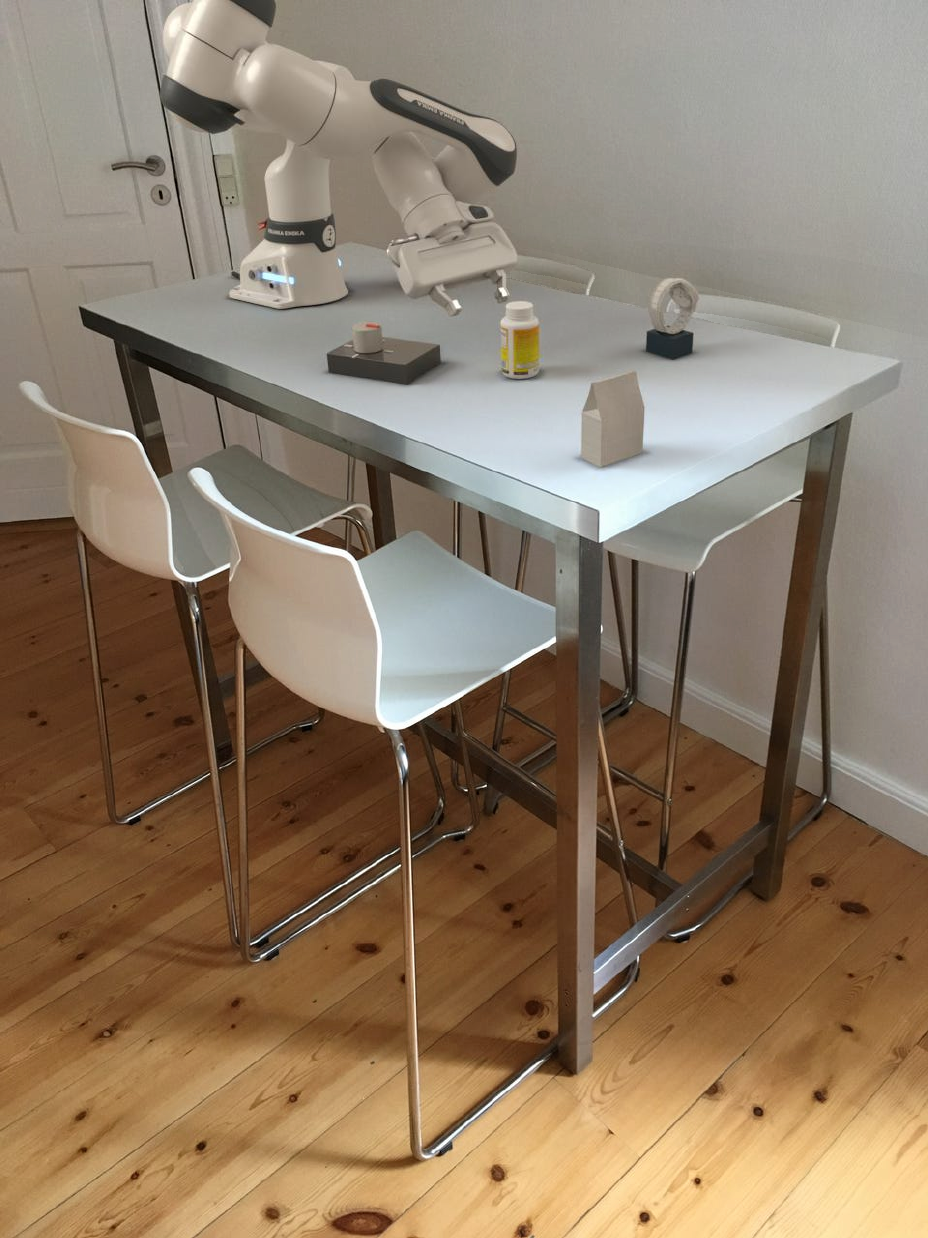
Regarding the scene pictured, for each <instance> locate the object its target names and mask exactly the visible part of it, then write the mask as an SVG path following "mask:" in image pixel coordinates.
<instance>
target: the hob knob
mask: <svg viewBox="0 0 928 1238" xmlns="http://www.w3.org/2000/svg"><path fill="white" fill-rule="evenodd" d="M351 331H352V332H351V333H352V340H353V344H354V351H356V352H358V353H375V352H378V351H381V350H382V349H383V339H382V337H383V332H382V331H383V328H382V324H381V323H380V322H376V321H361V322H357V323H355V324H353V325H352V326H351Z"/></svg>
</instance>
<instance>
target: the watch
mask: <svg viewBox="0 0 928 1238" xmlns="http://www.w3.org/2000/svg"><path fill="white" fill-rule="evenodd" d="M667 293H668V294H669V296H670V298H671V299H672V300H673V302H674V303H675V305H676V308H677V309H678V310H679V312H678V315H677V317H676V319H675V321H674V322H673V323H672V324H671V325H668V324H667V323H666V319H665V315H664V312H663V311H662V302H663V300H664V297H665V295H666V294H667ZM699 299H700V295H699V293H698V291H697V289H696V288H695V286H694V285H693V284H692V283H691V282H689V281H688V280H686V279H684V278H681V277H676V278H673V277H667V278H664V279H662V280H660V281H659V282H658V283H657V284H656V285H655V288H654V289H653V291H652V294H651V295H650V300H649V305H648V307H649V308H648V314H649V319H650V322H651V324H652V326H653V329H650V330H647V331H646V338H645V341H646V342H645V352H647V353H650V354H653V355H656V356H660V357H663V358H666V359H670V360H676V359H678V358H681V357H685V356H688V355H690V354H693V348H694V347H693V346H694V332H693V331H688V330H685V328H686V327H687V326H688V325H689V322H690V321H691V320H692V316H693V314H694V313H695V312H696V308H697V303H698V302H699Z"/></svg>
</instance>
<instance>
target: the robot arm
mask: <svg viewBox="0 0 928 1238" xmlns="http://www.w3.org/2000/svg"><path fill="white" fill-rule="evenodd" d="M276 10H277V3H276V0H192V2H186V3H182V4H180V5H178V6H176V8H174V9H173V10H172V11H171V12H170V13H169V14H168V16H167V18H166V19H165V22H164V25H163V30H162V43H163V47H164V50H165V52H166V53H165V54H166V55H167V57H168V59H169V63H168V66H167V70H166V74H163V75H162V79H161V85H160V90H159V99H160V101H161V104H162V106H163V107H164V108H165V109H167V111H168V112H169V114H170V115H171V116H172V118H174V119H175V121H177V122H178V124H180V125H182V126H183V127H185V128H186V129H189V130H190V131H194V132H198V133H204V134H207V133H209V134H211V135H216V134H220V133H225V132H227V131H229V130H230V129H231V128H232V127H234V128H237V129H241V130H245V131H249V132H253V133H274V134H275V133H277V134H279V135H280V136H282V137H283V138H285V139H286V146H285V150H284V153H283V154H281V155H279V156H278V157H277V158H275V159H274V160H273V161H271V163H270V164H269V165H268V167H267V168H266V170H265V173H264V177H263V179H264V186H265V187H264V188H265V194H266V201H267V202H266V203H267V208H268V217H267V218H266V219H265V220H264V221H261V222H258V223H257V225H258V226H259V227H258V229H257V230H259V231H261V230H263V229H264V233H263V240H262V241H261V242H260V243H258V245H256V247H255V248H254V249H253V250H251V252H250V253H248V255H246V256H245V257H244V258H243V260H242V261H241V263H240V267H239V268H240V269H239V273H238V272H237V271H231V272H230V273H231V274H230V275H231V276H232V277H235V278H236V279H238V280H239V282H240V283H239V284H238V285H236V286H233V288H231V289H230V290H229V293H228V295H229V299H234V300H238V301H243V302H247V303H250V304H251V303H252V304H255V305H261V306H265V307H269V308H273V309H277V310H284V309H290V308H295V307H305V306H306V307H307V306H315V305H322V304H328V303H331V302H334V301H338V300H340V299H342V298H344V297H346V296H347V295H348V294H349V290H348V288H347V285H346V282H345V279H344V276H343V272H342V269H341V266H342V261H341V260H340V259H339V256H338V251H337V246H336V243H337V231H336V221H335V214H334V213H333V212H332V207H331V195H330V162H331V161H340V160H341V161H342V160H346V159H349V158H352V157H354V156H357V155H359V154H360V153H362V152H364V151H365V150H367V149H369V148H370V147H372V146H373V145H375V144H377V143H380V142H381V141H382V142H381V143H380V144H379V145H378V147H377V148H376V149H375V150H374V152H373V154H372V165H373V169H374V173H375V175H376V177H377V180H378V183H379V184H380V187H381V189H382V191H383V193H384V195H385V196H386V199H387V200H388V203H389V204H390V205H391V207H392V208H393V209H394V210H395V211H396V213H398V215H399V217H400V221H401V225H402V227H403V229H404V231H405V233H406V235H405V236H403V237H397V238H393V239H391V240H390V242H389V243H388V244H387V246H386V254H387V256H388V258H389V260H390V262H391V263H392V264H393V268H394V270H395V273H396V276H397V279H398V281H399V284H400V286H401V288H402V290H403V293H404V294H405V295H406V296H408V297H409V298H410V299H412V300H414V299H419V298H424V297H427V296H430V298H431V300H432V301H433V302H434V303H436V305H438V306H440V307H441V308H443V309H444V310H445V312H446V314H447V315H448V316H449V317H450V318H452V317H456V316H459V315H460V313H461V312H462V310H463V309H462V305H460V302H459V301H458V299H453V298H451V297H450V296H448V294H446V293H445V292H447V291H450V290H454V289H458V288H463V287H466V286H470V285H473V284H477V283H482V282H486V281H489V280H490V281H491V284H493V285H496V291H495V292H494V294H493V297H494V299H495V300H496V303H497V304H503V303H508V301H509V300H510V299H511V294H510V291H509V289H508V288H507V276H508V275H510V274H511V273H512V272H513V270H514V269H515V268H516V266H517V265H518V262H519V255H518V252H517V250H516V248H515V246H514V244H513V242H512V241H511V239H510V237H509V236H508V235H507V233H506V231H504V229H503V228H502V226H500V225H499V224H498V223H496V222H494V221H493V218H494V217H495V216H494V213H493V211H492V209H491V208H490V207H488V206H486V205H480V203H481V202H483V201H484V200H485V198H487V197H488V196H489V195H490V194H491V193H492V192H493V191H494V190H495V189H496V188H497V187H500V186H501V184H503V183H504V182H505V181H507V180H508V179H510V178H511V177H512V176H513V175H514V174H515V172H516V168H517V167H516V166H517V160H518V147H517V143H516V140H515V138H514V136H513V135H512V133H511V132H510V131H509V129H507V127H506V126H504V125H503V124H502V123H500V122H499V121H497V120H496V119H493V118H491V117H487V116H484V115H479V114H475V113H472V112H469V111H467V110H463V109H460V108H459V107H457V106H454V105H451V104H450V103H447V102H445V101H443V100H441V99H438V98H436V97H433V96H432V95H429V94H427V93H424V92H422V91H420V90H417V89H415V88H413V87H411V86H408V85H406V84H403V83H401V82H398V81H395V80H392V79H388V78H379V79H375V80H358V79H355V78H354V76H353V74H352V73H351V72H350V70H349V69H348V68H347V67H345V65H344V66H343V65H340V64H336V63H332V62H327V61H323V60H314V59H311V58H310V57H308V56H306V55H303V54H302V53H299V52H297V51H295V50H292V49H290V48H287V47H285V46H282V45H280V44H276V43H268V41H267V36H268V32H269V29H270V28H272V27H273V24H274V20H275V16H276ZM415 133H416V134H417V133H418V134H420V135H423V136H425V137H427V138H430V139H432V140H435V141H437V142H440V143H442V144H444V145H446V146H445V147H444V148H443V149H442V150H441V151H440V152H439V154H437V155H436V157H432V156H431V155H430V153H429V152H428V151H427V149H426V147H425V146H424V145H423V144H422V142H421V141H420V138H418V137H417V135H416V134H415ZM260 225H261V226H260Z"/></svg>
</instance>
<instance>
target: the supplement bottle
mask: <svg viewBox="0 0 928 1238" xmlns="http://www.w3.org/2000/svg"><path fill="white" fill-rule="evenodd" d="M504 313H505V316H504V317H502V318H501V319H500V325H499V328H500V358H501V359H500V360H501V362H500V364H501V373H502V374H503V375H504V377H506V378H509V379H513V380H525V379H530V378H533V377H535V376H537V375H538V373H539V372H540V326H539V325H540V322H539V318H538V317H537V316H535V315H534V304H533V303H532V302H529V301H525V300H524V301H523V300H519V301H510V302H507V304H505V311H504Z"/></svg>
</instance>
